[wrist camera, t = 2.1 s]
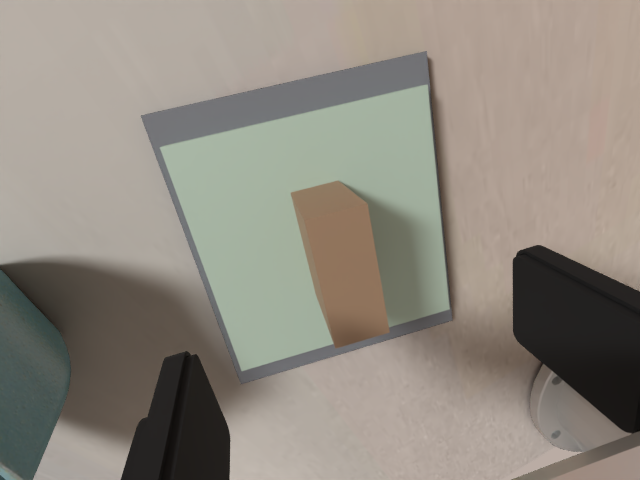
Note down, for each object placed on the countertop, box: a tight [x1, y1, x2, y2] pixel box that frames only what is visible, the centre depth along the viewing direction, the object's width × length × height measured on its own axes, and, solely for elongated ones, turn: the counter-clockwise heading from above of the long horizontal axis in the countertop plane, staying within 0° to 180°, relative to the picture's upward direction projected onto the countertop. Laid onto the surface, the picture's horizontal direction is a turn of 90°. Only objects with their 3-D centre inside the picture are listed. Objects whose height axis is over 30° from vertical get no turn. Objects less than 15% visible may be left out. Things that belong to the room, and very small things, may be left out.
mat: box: [141, 51, 452, 384], centre depth 21 cm, size 16×14×1 cm
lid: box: [160, 85, 450, 371], centre depth 18 cm, size 13×13×6 cm
